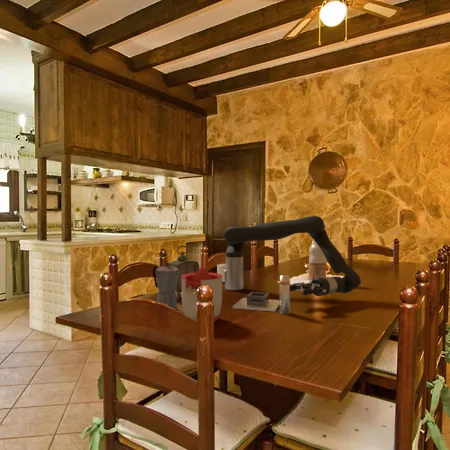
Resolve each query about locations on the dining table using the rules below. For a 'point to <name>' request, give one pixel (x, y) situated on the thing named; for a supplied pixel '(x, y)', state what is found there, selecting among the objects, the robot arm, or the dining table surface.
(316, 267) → the fruit juice
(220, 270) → the white cup
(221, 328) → the dining table surface
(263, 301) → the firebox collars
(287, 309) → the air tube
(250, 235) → the robot arm
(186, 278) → the citrus juicer
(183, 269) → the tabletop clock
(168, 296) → the moka pot
